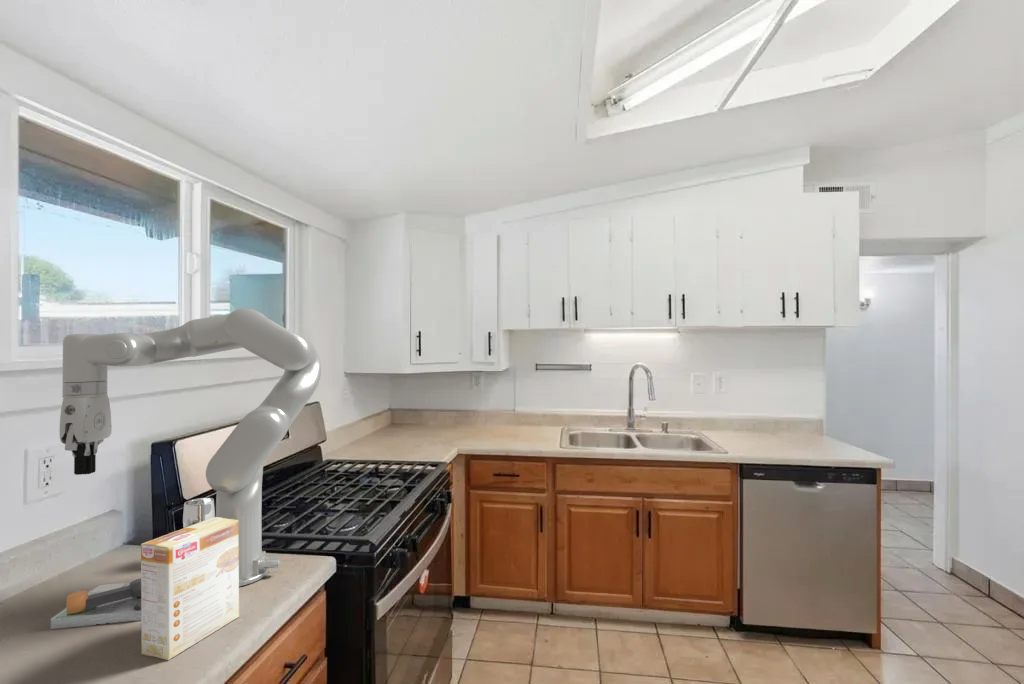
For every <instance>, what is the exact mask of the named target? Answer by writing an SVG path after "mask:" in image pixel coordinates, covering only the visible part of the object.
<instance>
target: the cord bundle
mask: <svg viewBox="0 0 1024 684" xmlns="http://www.w3.org/2000/svg"><path fill="white" fill-rule="evenodd" d="M140 609H141V601H140V602H138V603H137V604H136V605H135V606H134V610H136V611H138V610H140Z"/></svg>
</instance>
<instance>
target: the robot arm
mask: <svg viewBox="0 0 1024 684" xmlns="http://www.w3.org/2000/svg"><path fill="white" fill-rule="evenodd" d="M242 348H243V349H245V350H247V351H248V352H250V353H252V354H253V355H255V356H257V357H260V359H262V360H265V361H267V362H268V363H271V364H272V365H274V366H276V367H277V368H280V369H283V370H284V372H283V374H282V376H281V377H280V379H279V381H277V383H276V384H275V385H274V387H273V388H272V390H271V391H270V392H269V393H268V395H267V396H266V397H265V399H264V400H263V401H262V402H261V403H260V404H259V405H258V407H256V408H255V409H253V410H251V411H250V412H248V413H247V414H246V415H245V416H244V417H243V418H242V419H241V420H240V422H238V424H237V425H236V426H235V427H234V429H233V430H232V431H231V433H230V434H229V435H228V436H227V437H226V439H225V440H224V441H223V443H222V444H221V445H220V447H219V448H218V449H217V451H216V452H215V453H214V455H212V457H211V458H210V459H209V461H208V463H207V466H206V469H205V478H206V481H207V484H208V485H209V487H210V488H211V489H213V490H214V491H215V492H216V494H215V495H216V497H215V499H216V500H215V517H221V518H226V519H234V520H238V550H239V587H243V586H247V585H250V584H252V583H256V582H257V581H259V580H261V579H263V578H264V577H266V575H268V573H269V572H270V571H269V570H270V569H276V568H280V566H281V559H280V558H278V556H267V555H266V550H263V549H262V547H263V546H262V545H263V544H262V542H263V541H262V540H263V539H262V538H263V537H262V532H263V531H262V527H263V526H262V509H263V508H262V505H263V503H262V500H263V497H262V495H263V491H262V490H263V488H262V487H263V475H264V464H265V463H266V462H267V459H269V457H270V455H271V454H273V452H274V451H275V449H276V448H277V447H278V446H279V444H280V443H281V441H282V440H283V439H284V438H285V436H286V435H287V432H288V431H289V429H290V428H291V426H292V424H293V423H294V421H295V420H296V419H297V417H299V415H300V413H301V412H302V410H303V409H304V407H305V406H306V405H307V403H308V401H309V400H310V399H311V398H312V396H313V395H314V393H315V391H316V389H317V388H318V385H319V382H320V380H321V375H322V364H321V359H320V357H319V354H318V351H317V350H316V348H315V346H314V345H313V343H312V342H311V341H310V340H309V339H308V338H306V337H303V336H302V335H298V334H297V333H295V332H293V331H291V330H290V329H288V328H286V327H284V326H282V325H280V324H278V323H277V322H275V321H273V320H272V319H269V318H268V317H267V316H266V315H265V314H263V313H262V312H260V311H258V310H256V309H253V308H247V307H244V308H242V307H241V308H238V309H236V310H232V312H230V313H227V314H221V315H215V316H214V315H213V316H211V317H204V318H203V317H202V318H195V319H192V320H188V321H187V322H185V323H183V324H182V325H180V326H178V327H174V328H170V329H166V330H165V329H164V330H159V331H154V332H145V333H133V332H113V333H105V334H104V333H103V334H95V333H94V334H93V333H72V334H69V335H66V336H65V337H63V341H62V391H61V392H62V394H61V395H62V401H61V402H62V403H61V408H60V415H59V441H60V443H62V444H65V445H64V450H65V451H71V453H72V457H73V460H74V461H73V463H74V464H73V465H74V466H73V474H74V475H75V476H76V475H77V476H79V475H80V476H81V475H90V474H93V473H95V472H96V470H97V469H96V467H97V465H96V464H97V463H96V461H97V460H96V458H97V457H96V454H97V453H98V448H99V447H98V446H99V445H100V444H101V443H102V444H103V442H104V440H105V439H107V438H109V437H110V436H111V435H112V431H113V430H112V411H111V405H110V399H109V395H108V366H110V367H135V366H136V367H140V366H147V365H151V364H152V365H153V364H157V363H162V362H168V361H175V360H179V359H184V358H192V357H194V358H195V357H199V356H205V355H209V354H216V353H220V352H226V351H232V350H237V349H242Z"/></svg>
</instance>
